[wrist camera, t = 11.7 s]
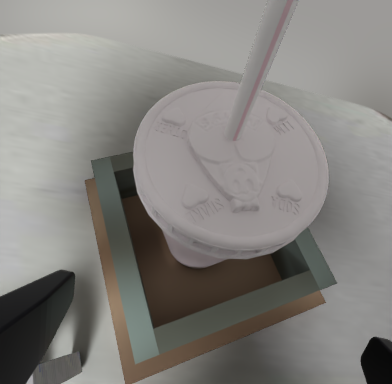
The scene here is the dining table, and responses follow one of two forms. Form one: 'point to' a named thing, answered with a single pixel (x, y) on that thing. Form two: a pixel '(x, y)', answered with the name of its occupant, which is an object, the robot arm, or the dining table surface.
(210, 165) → the smoothie
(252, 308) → the dock
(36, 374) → the caliper
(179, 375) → the dining table surface
